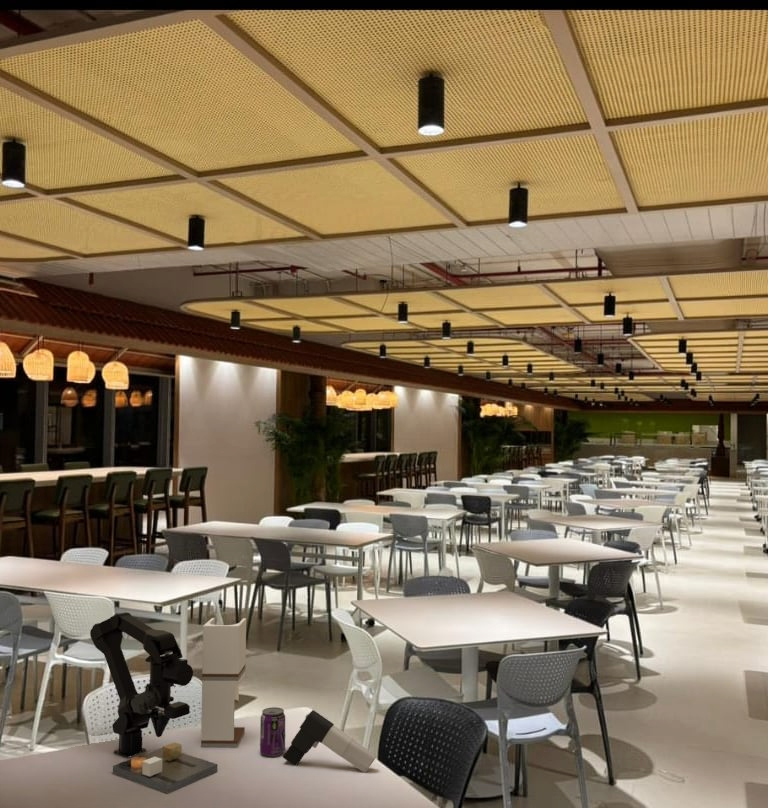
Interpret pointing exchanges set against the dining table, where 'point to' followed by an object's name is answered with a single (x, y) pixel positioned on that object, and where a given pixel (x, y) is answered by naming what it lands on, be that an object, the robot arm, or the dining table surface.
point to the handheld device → (327, 742)
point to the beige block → (152, 766)
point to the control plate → (168, 771)
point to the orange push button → (137, 762)
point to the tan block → (172, 751)
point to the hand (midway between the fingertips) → (158, 736)
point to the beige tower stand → (222, 683)
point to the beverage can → (272, 731)
